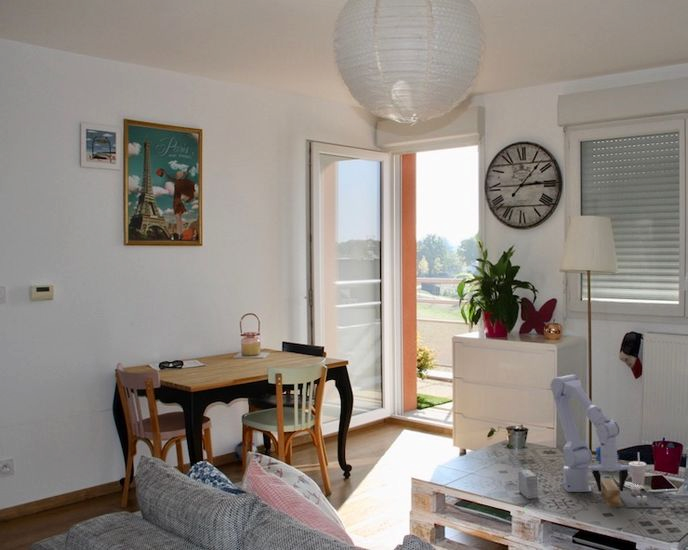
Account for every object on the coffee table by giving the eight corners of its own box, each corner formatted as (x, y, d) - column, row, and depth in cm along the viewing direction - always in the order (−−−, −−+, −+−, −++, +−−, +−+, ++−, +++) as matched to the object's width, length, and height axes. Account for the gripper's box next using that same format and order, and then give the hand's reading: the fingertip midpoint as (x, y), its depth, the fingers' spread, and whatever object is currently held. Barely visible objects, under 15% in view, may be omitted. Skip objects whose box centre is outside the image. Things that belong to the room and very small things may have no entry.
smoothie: (648, 491, 279) (647, 455, 279) (631, 491, 280) (629, 454, 280) (645, 485, 285) (644, 450, 285) (628, 485, 287) (626, 450, 286)
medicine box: (538, 498, 279) (537, 475, 278) (527, 499, 278) (526, 476, 277) (529, 491, 286) (528, 469, 286) (519, 492, 286) (518, 470, 285)
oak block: (607, 506, 266) (607, 490, 266) (601, 495, 278) (600, 479, 278) (620, 506, 266) (619, 490, 265) (613, 495, 278) (612, 479, 277)
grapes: (625, 470, 304) (624, 442, 304) (615, 474, 301) (613, 445, 300) (603, 464, 314) (601, 436, 314) (592, 467, 311) (591, 439, 310)
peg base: (627, 508, 263) (626, 500, 263) (617, 492, 279) (616, 485, 279) (662, 508, 262) (661, 499, 262) (650, 492, 277) (649, 484, 277)
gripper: (590, 457, 268) (592, 494, 269) (631, 457, 266) (633, 494, 267) (586, 452, 275) (588, 488, 276) (627, 451, 273) (628, 487, 274)
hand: (610, 490), depth 272 cm, fingers open, 7 cm apart
